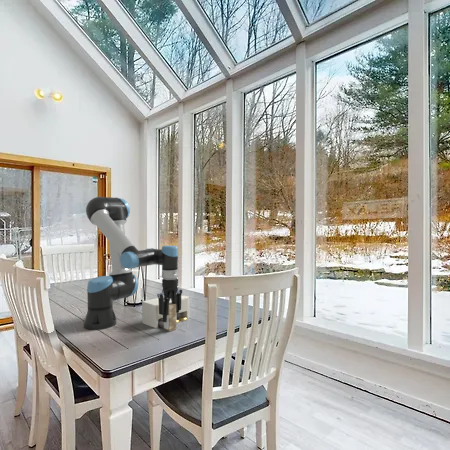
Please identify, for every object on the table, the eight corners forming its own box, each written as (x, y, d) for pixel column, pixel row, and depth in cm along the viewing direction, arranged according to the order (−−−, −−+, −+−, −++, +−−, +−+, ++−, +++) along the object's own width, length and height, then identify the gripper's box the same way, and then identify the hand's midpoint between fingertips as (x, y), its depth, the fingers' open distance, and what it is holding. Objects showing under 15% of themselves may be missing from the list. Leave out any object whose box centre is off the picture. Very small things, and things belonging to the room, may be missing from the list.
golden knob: (174, 324, 160) (174, 322, 160) (168, 322, 163) (168, 320, 163) (181, 322, 163) (181, 320, 163) (175, 320, 166) (175, 318, 166)
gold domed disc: (182, 322, 164) (182, 319, 164) (176, 320, 167) (176, 317, 167) (188, 320, 167) (188, 317, 167) (183, 318, 170) (183, 316, 170)
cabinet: (155, 328, 154) (155, 305, 153) (142, 323, 161) (142, 301, 161) (189, 317, 170) (189, 297, 170) (176, 313, 178) (176, 293, 177)
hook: (169, 331, 149) (169, 306, 149) (153, 325, 157) (153, 301, 157) (196, 322, 162) (196, 299, 161) (180, 317, 170) (180, 295, 170)
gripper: (160, 282, 142) (160, 334, 143) (188, 276, 155) (189, 324, 156) (150, 279, 147) (150, 330, 148) (178, 274, 160) (179, 321, 161)
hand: (170, 327), depth 152 cm, fingers closed on hook, 4 cm apart
